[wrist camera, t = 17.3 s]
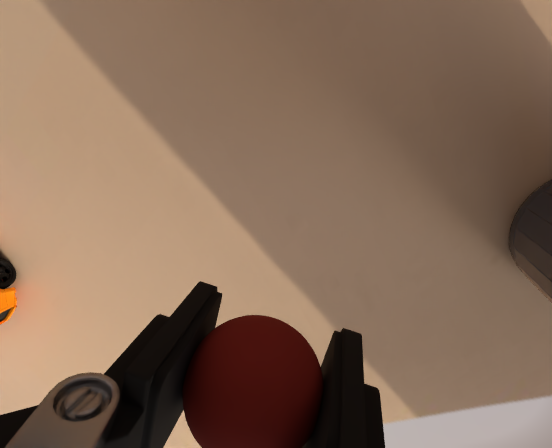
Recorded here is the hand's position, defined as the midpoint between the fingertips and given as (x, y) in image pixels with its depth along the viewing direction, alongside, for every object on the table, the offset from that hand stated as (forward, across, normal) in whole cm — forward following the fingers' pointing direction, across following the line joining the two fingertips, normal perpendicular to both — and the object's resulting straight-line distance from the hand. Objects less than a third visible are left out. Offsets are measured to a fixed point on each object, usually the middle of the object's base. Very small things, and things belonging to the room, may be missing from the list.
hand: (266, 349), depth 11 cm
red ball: (-1, 0, 0) cm, 1 cm away
